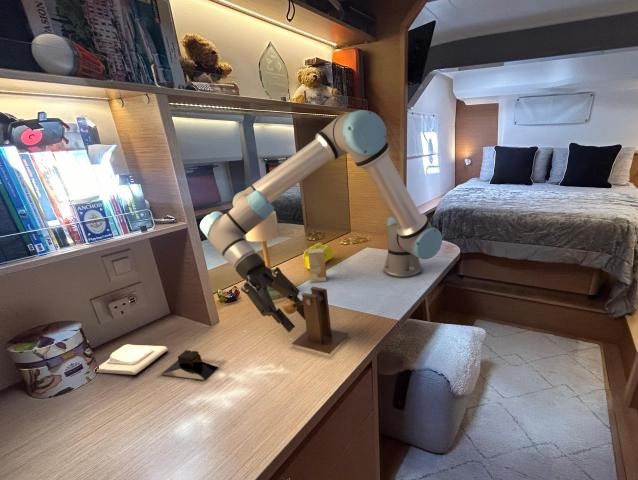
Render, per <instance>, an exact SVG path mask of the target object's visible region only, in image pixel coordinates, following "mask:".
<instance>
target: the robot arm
mask: <svg viewBox="0 0 638 480" xmlns="http://www.w3.org/2000/svg"><path fill="white" fill-rule="evenodd" d="M387 132H388V131H387V127H386V125H385V123H384V121H383V119H382V118H381V117H380V115H378V114H377V113H376V112H373V111H371V110H365V109H357V110H354V111H351V112H347V113H346V112H345V113H341V114H340V115H338V116H337V117H335V119H333V120H332V121H331V122H330V123H329V124H327V125H326V126H325V127H324V128H323V129H321V130H320V131H319V132H317V133H316V134H315V138H314V139H313V140H311V142H309V143H308V144H307V145H304V147H302V148H301V149H300V150H298V151H297V152H296V153H294V154H293V155H292V156H290V157H289V158H287V159H286V160H284V161H283V162H282V163H280V164H279V165H277V166H276V167H274V168H273V169H272V170H270V171H269V172H268V173H266V174H264V176H262V177H261V178H259V179H258V180H257V181H255V182H254V183H252V184H251V185H250V186H248V187H247V188H245V189H244V190H241V191H238V192H237V193H236V194H235V195H234V196H233V199H232V207H233V208H231V209H230V210H228V211H227V212H226V213H223V212H221V211H213V212H211V213H210V214H209V213H208V214H207V215H205V216H204V217H203V219H202V220H201V221H200V224H199V230H200V231H201V232H202V233H203V234H204V236H205V237H206V238H207V240H208V242H210V243H211V244H212V246H213V247H214V248H215V249H216V250H217V251H218V252H219V254H221V256H222V257H223V258H224V259H225V260H226V261H227V262H228V263H229V265H230V266H231V267H232V268H234V269H235V272H236V273H237V274H238V275H239V276H240V278H242V280H245V282H244V283H243V285H241V288H240V291H242V292H243V293H244V294H245V295H246V296H247V297H248V298H249V300H250V302H252V304H253V305H254V307H255V308H256V309H257V311H258V312H259V313H260V315H261V316H263V317H266V316H267V317H268V318H269V317H272V318H273V320H275V321H276V323H277V324H281V325H282V327H283V328H284V329H285V330H286V331H287V333H290V332H292V331H293V330H294V329H295V328H296V325H294V323H293V322H292V321H291V320H290V319H289V317H288V315H286V313H285V312H284V311H283V310H282V309H281V308H277V307H276V305H275V303H274V300H272V299H271V296H270V294H269V292H268V290H267V287H270V288H273V289H275V290H276V291H278V292H279V293H281V294H282V295H283V296H285V297H284V298H286V299H288V301H289V300H291V301H294V302H295V303H297V302H299V301H302V300H301V299H300V297H298V296H299V295H300V294H299V293H300V292H301V290H300V289H299V287H297V286H296V285H295V284H294V283H293V282H292V281H290V279H288V277H287V276H286V275H285V274H284V273H283V272H282V270H281V268H280V267H278V266H276V267H275V268H274V269H273V268H271V269H273V270H271V269H269V268H268V267H266V264H265V259H263V258H262V257H261V255H260V254H259V253H256V252H257V251H256V250H255V248H254V247H253V246H252V245H251V244H250V243H249V241H247V240H246V238H245V237H244V236H245V235H246V234H247V233H248V232H249V231H251V230H252V229H253V228H254V227H256V226H257V225H258V224H259V223H261V222H262V221H263V220H265V219H267V218H268V216H269V215H270V214H271V213H272V212H273V211H275V208H274V206H273V205H272V203H273V202H274V201H275V200H277V199H279V197H281V196H283V195H284V194H285V193H286V192H288V191H289V190H291V189H292V188H293V187H295V186H296V185H297V184H299V183H300V182H301V181H303V180H304V179H306V178H307V177H308V176H310V175H311V174H312V173H314V172H316V170H318V169H319V168H321V167H322V166H323V165H325V164H326V163H327V162H329V161H330V162H331V161H332V162H334V161H336V160H337V159H339V158H340V157H341V156H344V155H347V154H349V156H350V157H351V160H352V161H353V162H354V164H355V166H356V167H357V168H360V169H363V170H364V172H365V173H366V175H367V176H368V178H369V180H370V181H371V183H372V184H373V187H374V188H375V190H376V191H377V193H378V195H379V196H380V198H381V200H382V202H383V203H384V204H385V207H386V208H387V210H388V211H389V213H390V215H391V216H390V217H388V218H387V220H386V233H387V237H386V238H387V256H386V258H385V262H384V265H383V272H384V273H385V274H386V275H388V276H390V277H394V278H410V277H413V276H417V275H419V274H420V273H421V272H422V265H421V261H420V259H421V260H429V259H431V258H433V257H434V256H436V255H437V254H438V253H439V252H440V250H441V246H442V244H443V235H442V233H441V231H440V230H439V229H437V228H436V227H433V226H432V224H431V222H430V220H429V218H428V217H427V215H426V214H424V213H420V211H419V209H418V208H417V205H416V204H415V202H414V200H413V198H412V196H411V194H410V193H409V190H408V189H407V187H406V185H405V183H404V182H403V179H402V178H401V175H400V174H399V171H398V170H397V168H396V167H395V165H394V163H393V161H392V160H391V157H390V156H389V153H388V152H389V149H390V145H389V143H388V141H387V135H388V133H387ZM273 281H274V282H273ZM254 287H255V289H256V290H255V289H254ZM296 312H297V313H298V314H299V315H300V316H301V318H302V319H303V320H304V321H305V314H304V307H303V305H301V306H298V307H297V310H296Z"/></svg>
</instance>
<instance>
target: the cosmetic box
mask: <svg viewBox="0 0 638 480" xmlns="http://www.w3.org/2000/svg"><path fill="white" fill-rule="evenodd" d="M307 251H308V256H309V266H310V269H309V275H310V282H311V283H317V282H327V268H326V262H325V254H324V249H314V250H307Z"/></svg>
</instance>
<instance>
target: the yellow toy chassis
mask: <svg viewBox="0 0 638 480" xmlns="http://www.w3.org/2000/svg"><path fill="white" fill-rule="evenodd" d="M314 249H324V254H325V263H328V261H330V260H331V259H332V258H334V257H333V256H334V255H333V247H332V246H331V245H328V246H327V245H323V243H322V242H320V241H319V242H318V243H316V244H314V245H312V246H310V247H308V248H307V249H305V250H304V252H303V255H302V258H303V264H304V269H307V270H310V266H309V256H308V250H314Z"/></svg>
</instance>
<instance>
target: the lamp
mask: <svg viewBox="0 0 638 480" xmlns="http://www.w3.org/2000/svg"><path fill="white" fill-rule="evenodd" d="M244 236H245V237H244V238H245V240H246V241H247V242H252V243H253V242H254V243H256V242H257V243H259V242H260V243H261V247H262V252H263V253H262V254H263V258H264V259H263V260H264V261H265V265H266V267H268V268H269V269H271V270H273V268H272V266H271V260H270V254H269V248H268V243H267V241H272V240H275V239H277V238H279V237H280V229H279V224H278V218H277V212H276V211H275V210H274V211H273V212H272V213H271V214H270V215H269V216H268V218H267V219H265V220H263V221H262V222H261V223H259V224H258V225H257V226H256V227H254V228H253V229H252V230H251V231H249V232H248V233H247V234H246V235H244ZM273 282H274V281H273ZM253 288H254V289H255V287H253ZM255 290H256V289H255ZM267 290H268V292H269V294H270V296H271V299H272V301H275V300H279V299H283V298H286V297H285V296H283V295H282V294H281V293H279V292H278V291H276V290H275V289H273V288H270V287H267Z"/></svg>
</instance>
